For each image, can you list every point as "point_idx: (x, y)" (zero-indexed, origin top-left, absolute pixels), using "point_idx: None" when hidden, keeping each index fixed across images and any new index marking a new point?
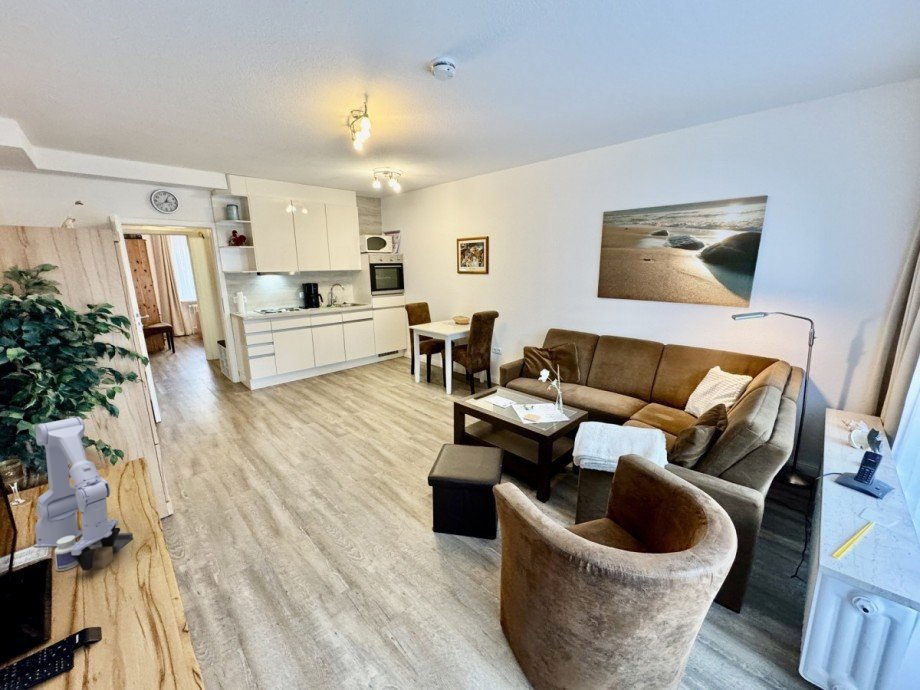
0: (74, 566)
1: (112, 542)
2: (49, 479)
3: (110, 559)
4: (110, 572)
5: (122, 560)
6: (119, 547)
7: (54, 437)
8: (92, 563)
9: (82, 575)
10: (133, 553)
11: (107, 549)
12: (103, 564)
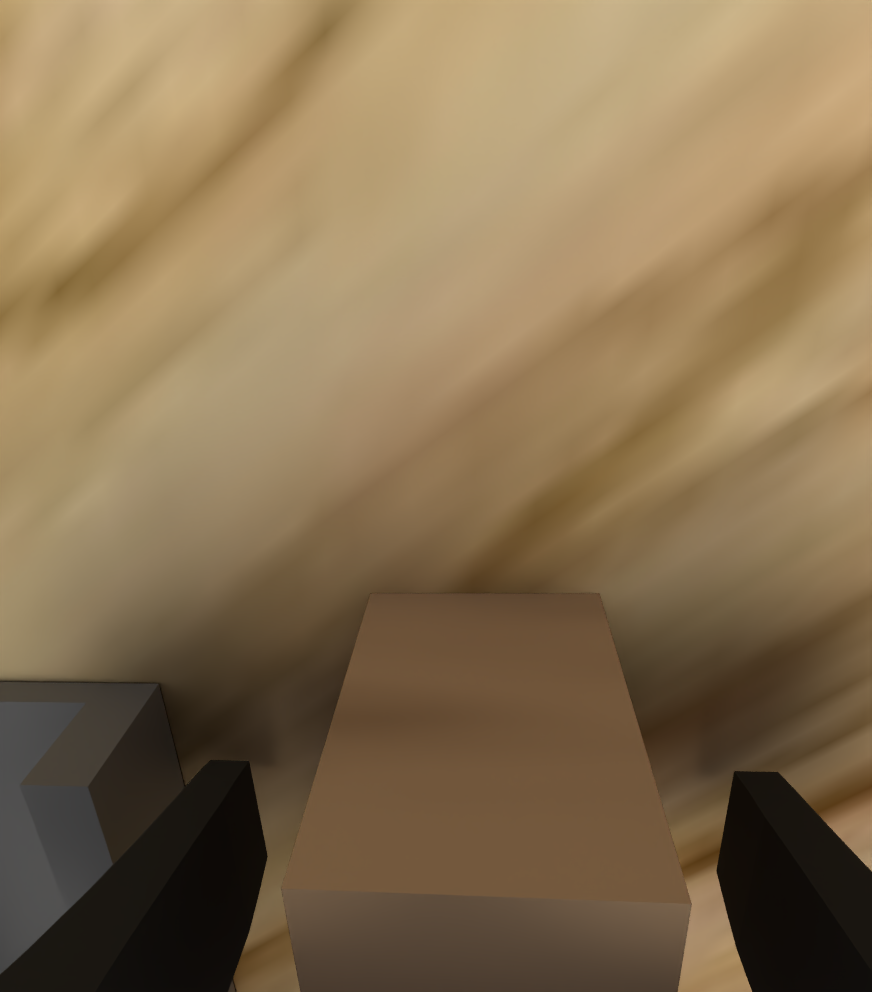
0: None
1: (100, 982)
2: None
3: (427, 636)
4: (751, 383)
5: (357, 422)
6: (43, 724)
7: None
8: (794, 862)
9: None
10: (117, 358)
11: (440, 920)
12: (614, 653)
